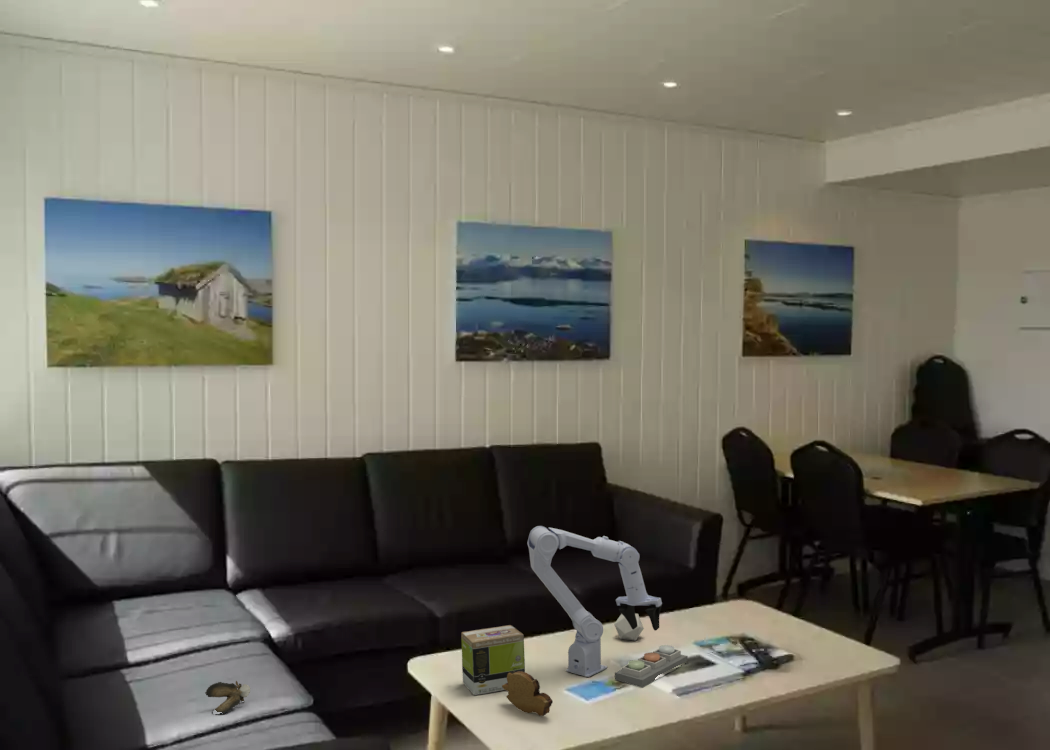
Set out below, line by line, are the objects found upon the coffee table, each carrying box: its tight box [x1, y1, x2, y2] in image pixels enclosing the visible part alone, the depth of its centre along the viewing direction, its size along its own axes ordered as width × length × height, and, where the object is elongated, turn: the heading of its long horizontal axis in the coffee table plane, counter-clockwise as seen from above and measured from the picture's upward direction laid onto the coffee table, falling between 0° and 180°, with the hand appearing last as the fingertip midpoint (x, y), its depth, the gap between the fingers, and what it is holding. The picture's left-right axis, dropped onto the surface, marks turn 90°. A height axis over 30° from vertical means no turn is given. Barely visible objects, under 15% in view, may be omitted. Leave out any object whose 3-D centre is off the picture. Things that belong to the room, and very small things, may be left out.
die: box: [614, 613, 645, 642], centre depth 290 cm, size 8×9×10 cm
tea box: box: [460, 624, 526, 696], centre depth 252 cm, size 15×10×15 cm, turn 112°
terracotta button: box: [643, 651, 660, 663], centre depth 262 cm, size 4×4×2 cm
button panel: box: [614, 648, 688, 688], centre depth 262 cm, size 24×9×4 cm, turn 140°
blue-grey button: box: [658, 644, 675, 655], centre depth 268 cm, size 4×4×2 cm
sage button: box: [627, 659, 644, 671], centre depth 255 cm, size 4×4×2 cm
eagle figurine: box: [204, 680, 251, 714], centre depth 239 cm, size 8×8×10 cm
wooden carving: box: [502, 671, 554, 717], centre depth 235 cm, size 16×5×10 cm, turn 48°
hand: (645, 628), depth 268 cm, fingers open, 7 cm apart
